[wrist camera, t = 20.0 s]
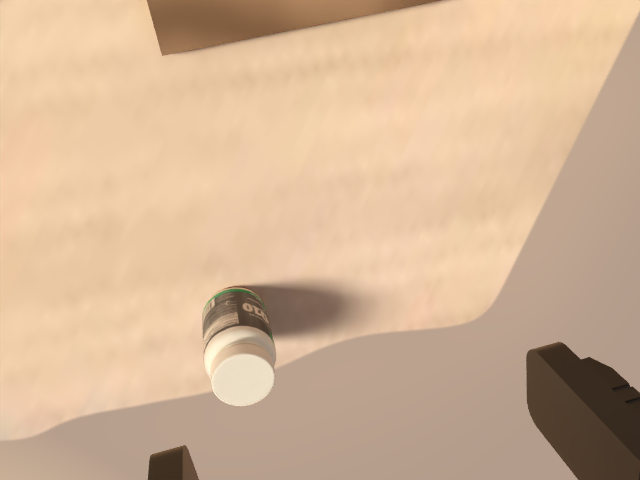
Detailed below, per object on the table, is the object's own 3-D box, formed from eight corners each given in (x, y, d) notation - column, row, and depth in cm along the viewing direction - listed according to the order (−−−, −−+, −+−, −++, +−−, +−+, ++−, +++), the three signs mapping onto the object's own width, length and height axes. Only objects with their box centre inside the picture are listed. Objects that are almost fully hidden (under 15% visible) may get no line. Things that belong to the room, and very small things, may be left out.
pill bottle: (275, 323, 45) (293, 392, 37) (218, 348, 44) (225, 423, 37) (249, 274, 42) (263, 337, 35) (190, 301, 42) (191, 370, 35)
